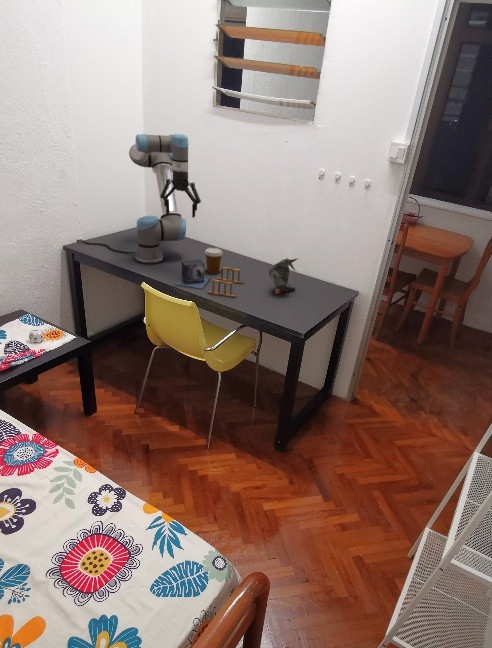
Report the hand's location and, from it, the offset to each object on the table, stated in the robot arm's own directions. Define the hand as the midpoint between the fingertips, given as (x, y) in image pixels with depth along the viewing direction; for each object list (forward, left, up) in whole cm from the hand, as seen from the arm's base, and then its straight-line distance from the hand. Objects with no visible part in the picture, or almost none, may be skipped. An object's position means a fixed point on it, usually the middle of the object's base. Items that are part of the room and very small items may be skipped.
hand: (180, 215), depth 231 cm
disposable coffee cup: (+16, +7, -31) cm, 35 cm away
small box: (+10, -11, -30) cm, 34 cm away
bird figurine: (+56, -5, -31) cm, 64 cm away
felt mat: (+10, -11, -31) cm, 34 cm away
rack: (+28, -12, -31) cm, 43 cm away
